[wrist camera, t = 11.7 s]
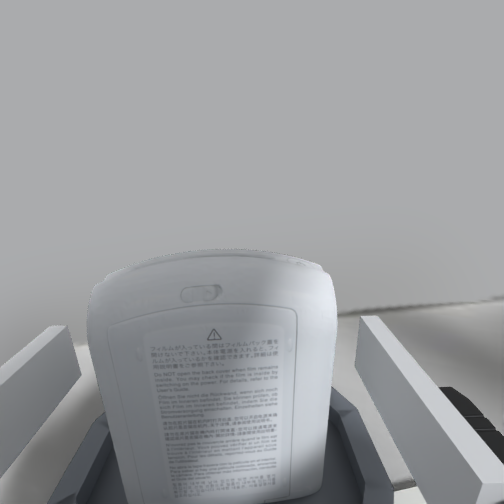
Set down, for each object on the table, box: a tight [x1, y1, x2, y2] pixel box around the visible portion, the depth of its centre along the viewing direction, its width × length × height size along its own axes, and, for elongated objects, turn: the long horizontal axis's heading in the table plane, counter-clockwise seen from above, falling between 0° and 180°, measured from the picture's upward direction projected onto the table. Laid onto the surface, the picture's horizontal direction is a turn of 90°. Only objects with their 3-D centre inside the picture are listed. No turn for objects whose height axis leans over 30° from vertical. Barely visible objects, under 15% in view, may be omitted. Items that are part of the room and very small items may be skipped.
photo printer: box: [87, 249, 337, 504], centre depth 13 cm, size 10×4×12 cm, turn 94°
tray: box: [47, 386, 394, 504], centre depth 15 cm, size 16×16×2 cm
